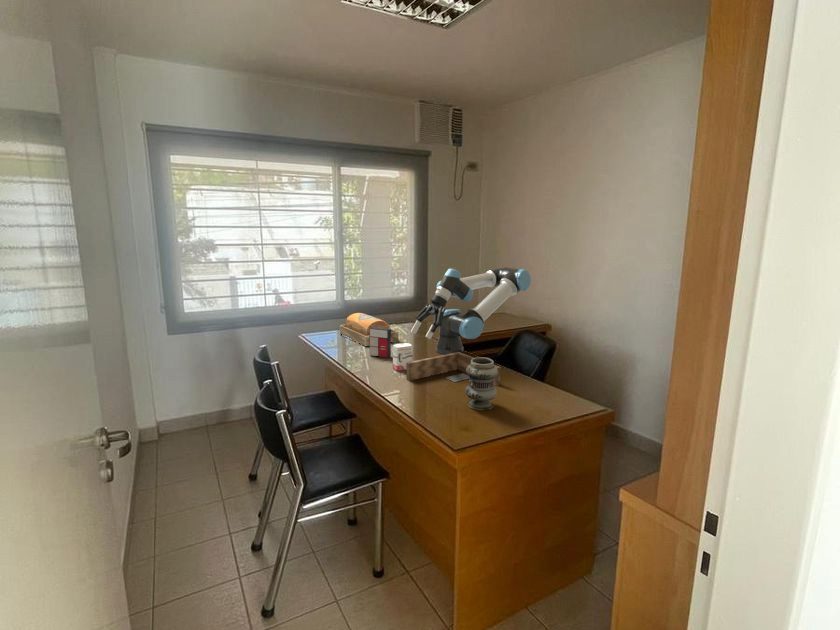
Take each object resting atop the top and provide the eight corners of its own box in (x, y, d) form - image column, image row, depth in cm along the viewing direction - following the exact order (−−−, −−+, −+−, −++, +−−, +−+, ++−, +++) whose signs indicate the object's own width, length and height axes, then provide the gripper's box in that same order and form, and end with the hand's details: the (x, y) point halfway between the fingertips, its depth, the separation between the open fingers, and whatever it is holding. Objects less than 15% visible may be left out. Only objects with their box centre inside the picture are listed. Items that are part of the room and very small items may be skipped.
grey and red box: (369, 356, 230) (368, 328, 227) (372, 354, 233) (372, 326, 230) (387, 358, 225) (387, 330, 223) (391, 356, 229) (391, 328, 226)
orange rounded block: (391, 341, 259) (391, 319, 257) (366, 345, 251) (366, 322, 248) (369, 331, 284) (369, 311, 281) (346, 335, 275) (345, 313, 273)
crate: (370, 330, 288) (370, 321, 286) (398, 341, 259) (398, 331, 258) (339, 334, 275) (339, 325, 274) (365, 347, 247) (365, 336, 246)
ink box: (396, 371, 205) (396, 347, 203) (392, 368, 210) (392, 344, 207) (413, 368, 209) (413, 344, 207) (408, 365, 214) (408, 342, 211)
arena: (458, 367, 211) (458, 351, 209) (499, 384, 188) (500, 367, 187) (406, 379, 194) (406, 362, 193) (444, 399, 172) (445, 380, 170)
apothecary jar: (474, 413, 159) (476, 366, 155) (459, 402, 170) (460, 357, 166) (502, 408, 163) (504, 362, 160) (485, 397, 174) (487, 354, 171)
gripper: (421, 291, 222) (401, 327, 219) (450, 296, 201) (428, 336, 198) (432, 298, 226) (412, 334, 223) (461, 304, 205) (440, 343, 202)
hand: (420, 335), depth 210 cm, fingers open, 13 cm apart
